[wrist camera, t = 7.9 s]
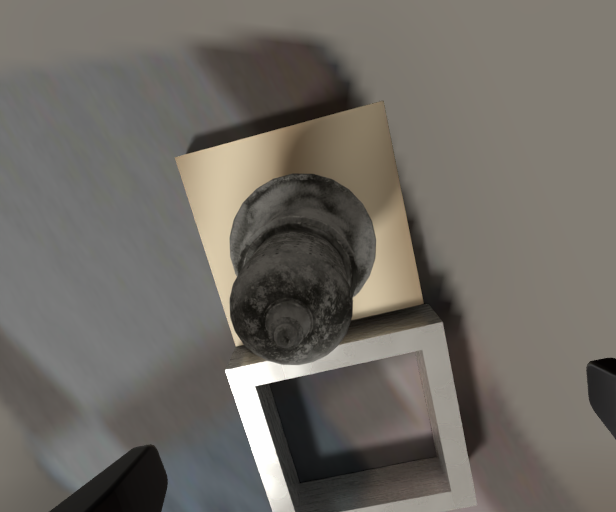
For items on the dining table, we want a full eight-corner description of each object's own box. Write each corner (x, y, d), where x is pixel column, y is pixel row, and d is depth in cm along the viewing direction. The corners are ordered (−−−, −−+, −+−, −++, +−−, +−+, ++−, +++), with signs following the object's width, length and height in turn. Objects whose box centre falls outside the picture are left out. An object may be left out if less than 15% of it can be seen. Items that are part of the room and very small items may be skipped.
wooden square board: (379, 104, 18) (383, 100, 17) (417, 295, 21) (423, 303, 19) (183, 158, 19) (174, 157, 18) (240, 336, 21) (236, 346, 20)
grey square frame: (428, 303, 21) (442, 322, 18) (460, 469, 23) (477, 505, 21) (235, 346, 22) (225, 370, 19) (286, 502, 24) (282, 540, 21)
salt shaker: (252, 163, 18) (130, 155, 6) (375, 181, 18) (481, 206, 6) (239, 282, 19) (120, 456, 8) (354, 298, 19) (410, 496, 8)
